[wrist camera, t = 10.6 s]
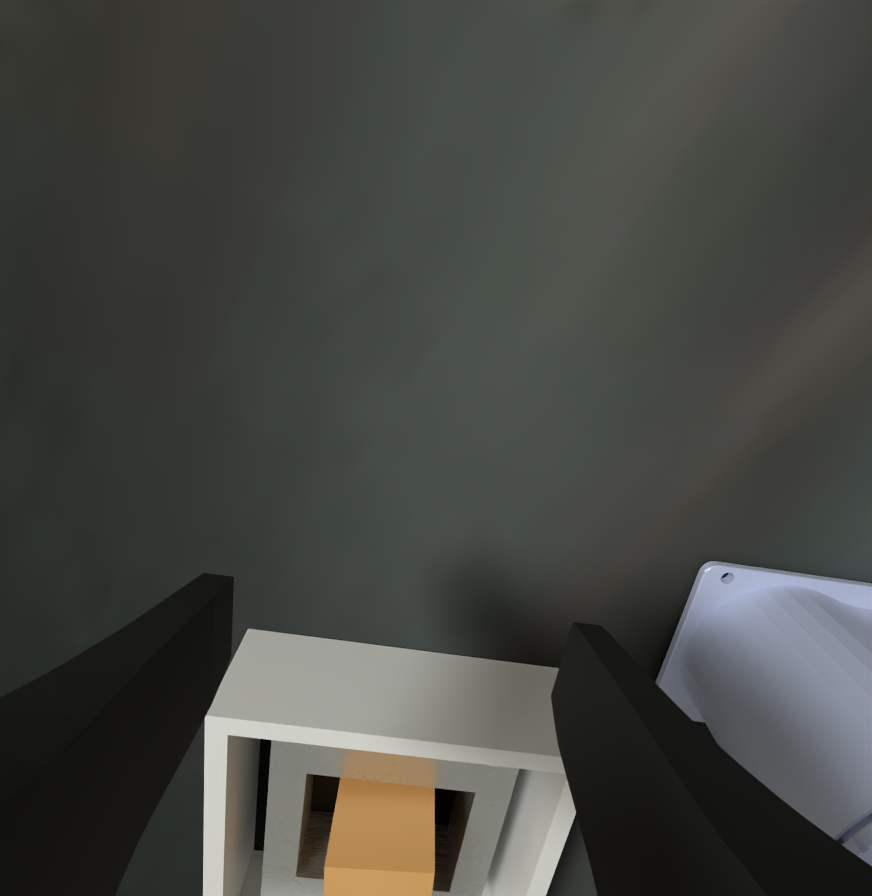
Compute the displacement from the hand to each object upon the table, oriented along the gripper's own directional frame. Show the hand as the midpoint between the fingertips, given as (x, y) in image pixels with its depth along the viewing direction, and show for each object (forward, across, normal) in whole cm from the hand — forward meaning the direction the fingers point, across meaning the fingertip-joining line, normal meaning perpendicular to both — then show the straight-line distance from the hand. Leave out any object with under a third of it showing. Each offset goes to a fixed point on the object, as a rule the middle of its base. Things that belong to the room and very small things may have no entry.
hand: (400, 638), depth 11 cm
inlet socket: (+9, -1, +16) cm, 19 cm away
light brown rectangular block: (+10, -1, +16) cm, 18 cm away
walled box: (+9, -1, +16) cm, 19 cm away
